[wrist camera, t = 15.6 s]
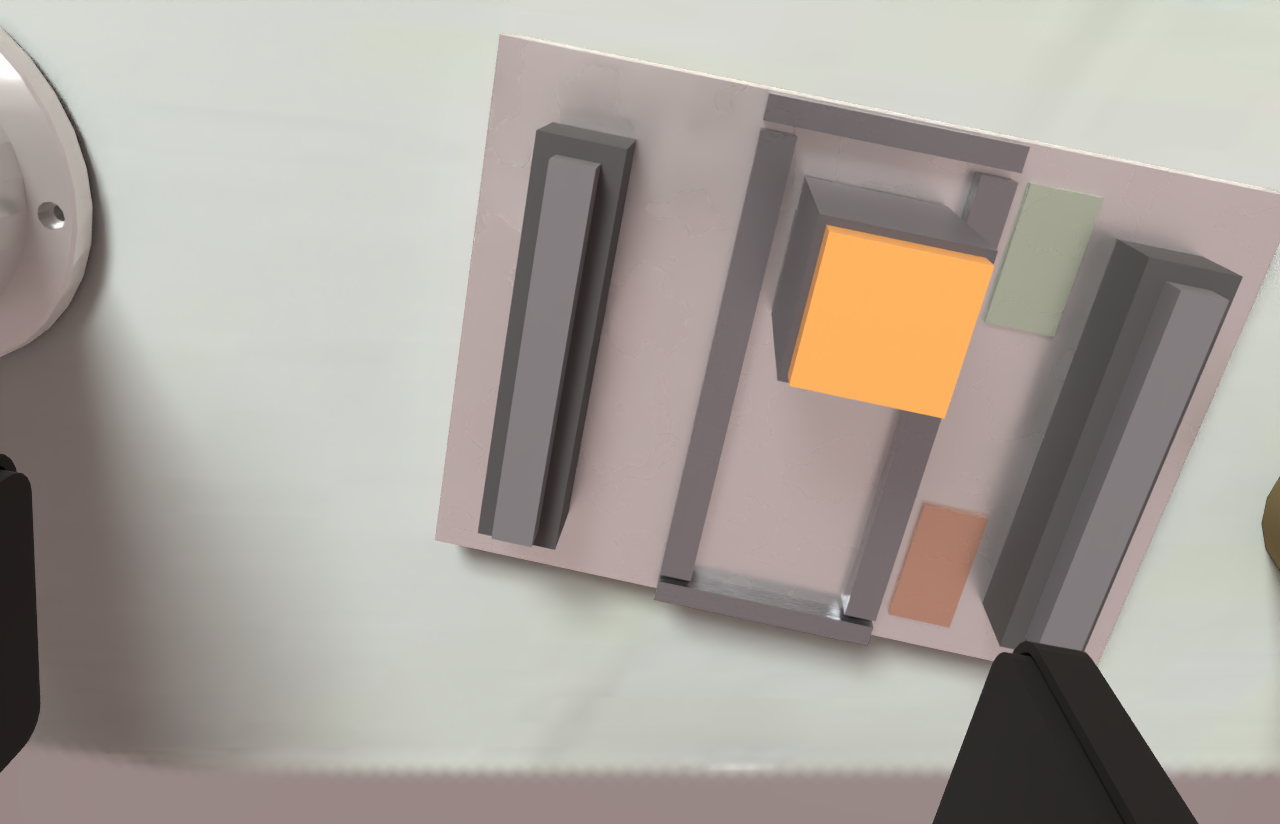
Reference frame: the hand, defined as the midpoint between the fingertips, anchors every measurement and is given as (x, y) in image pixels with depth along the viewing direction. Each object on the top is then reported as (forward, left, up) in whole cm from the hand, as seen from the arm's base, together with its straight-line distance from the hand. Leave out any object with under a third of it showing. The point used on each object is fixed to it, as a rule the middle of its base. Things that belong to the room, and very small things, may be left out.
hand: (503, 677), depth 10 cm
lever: (+5, +1, -21) cm, 21 cm away
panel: (+5, -3, -23) cm, 24 cm away
